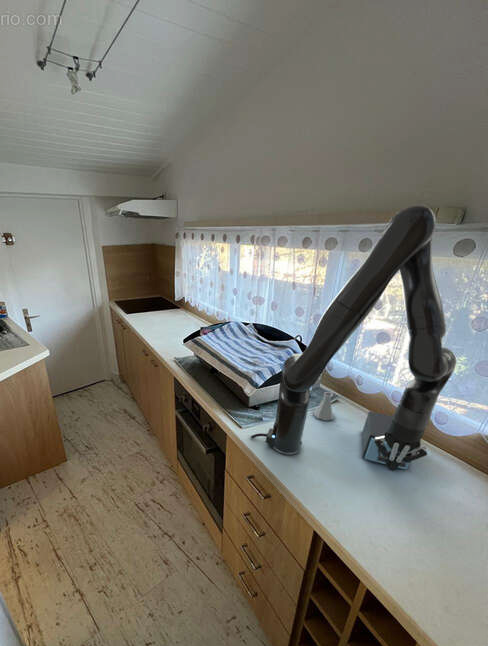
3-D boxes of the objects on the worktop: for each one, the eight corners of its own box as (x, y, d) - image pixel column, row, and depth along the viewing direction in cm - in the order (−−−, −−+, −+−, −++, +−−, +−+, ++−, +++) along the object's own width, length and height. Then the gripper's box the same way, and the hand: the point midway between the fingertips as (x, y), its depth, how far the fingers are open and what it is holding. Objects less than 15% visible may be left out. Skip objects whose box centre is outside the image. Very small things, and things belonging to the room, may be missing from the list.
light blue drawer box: (408, 481, 90) (417, 461, 86) (365, 469, 94) (372, 449, 91) (401, 444, 104) (409, 425, 100) (364, 435, 109) (370, 417, 105)
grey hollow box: (407, 469, 95) (418, 445, 90) (362, 457, 100) (370, 434, 95) (402, 442, 106) (411, 419, 102) (361, 432, 111) (369, 410, 107)
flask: (334, 421, 117) (340, 399, 113) (315, 419, 119) (320, 398, 114) (331, 411, 124) (336, 390, 119) (312, 409, 125) (316, 388, 120)
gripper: (437, 419, 81) (415, 467, 90) (380, 407, 87) (364, 454, 95) (443, 435, 76) (419, 485, 84) (382, 421, 81) (364, 469, 89)
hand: (390, 468), depth 89 cm, fingers closed
